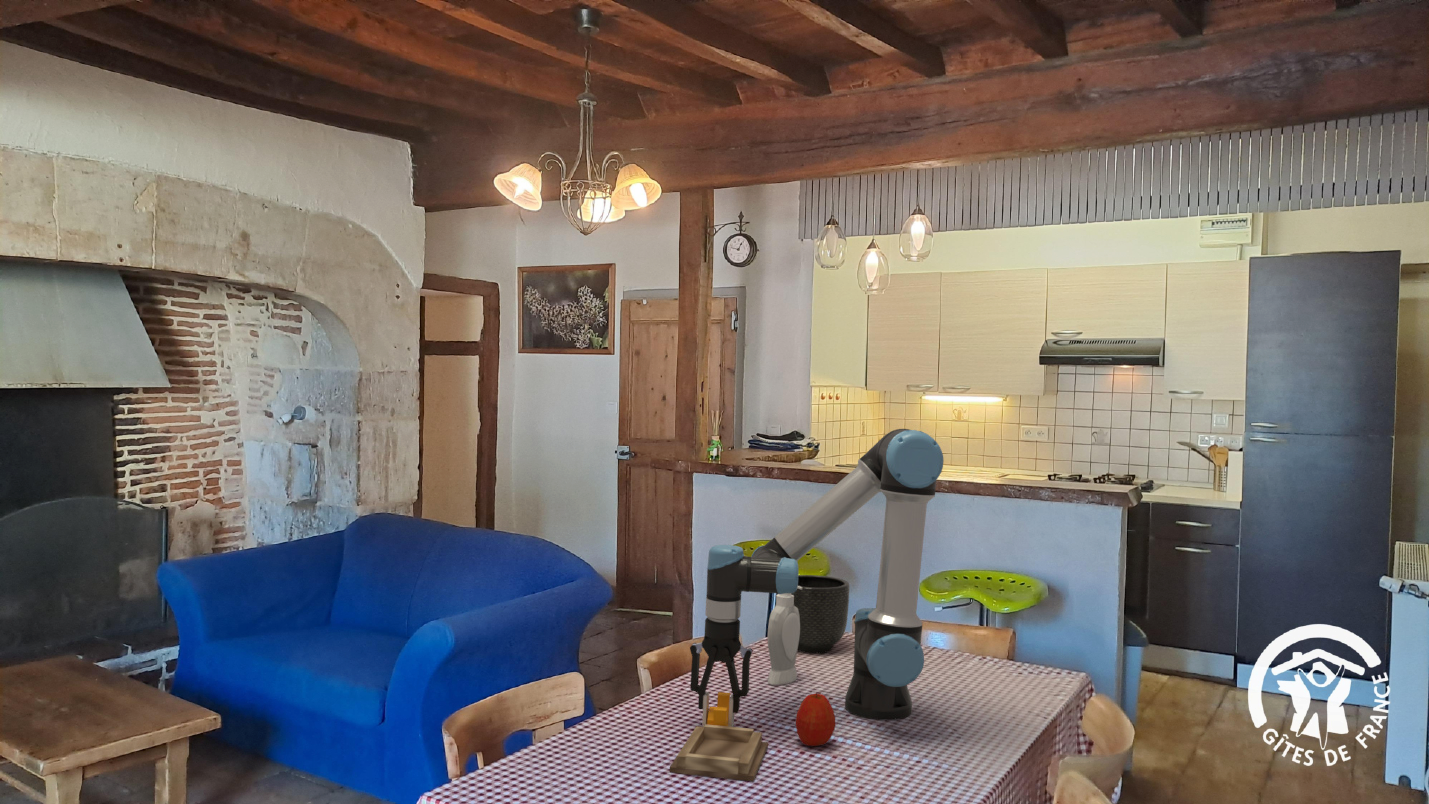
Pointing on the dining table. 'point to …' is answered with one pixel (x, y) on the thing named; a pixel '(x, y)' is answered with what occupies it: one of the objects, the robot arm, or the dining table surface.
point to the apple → (815, 720)
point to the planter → (821, 612)
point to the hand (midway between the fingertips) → (717, 725)
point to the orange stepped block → (720, 711)
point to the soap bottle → (783, 640)
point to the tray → (721, 753)
